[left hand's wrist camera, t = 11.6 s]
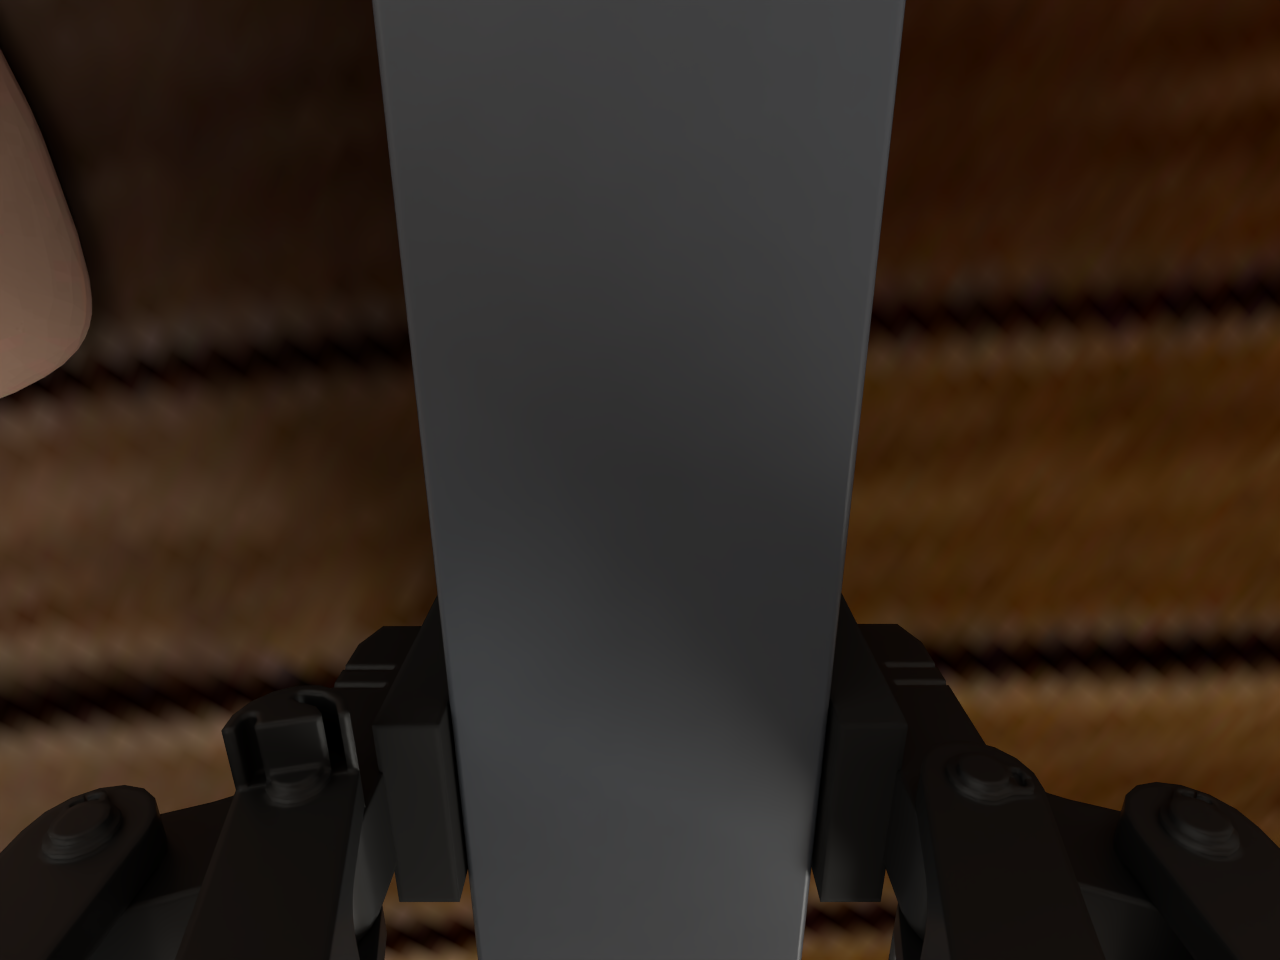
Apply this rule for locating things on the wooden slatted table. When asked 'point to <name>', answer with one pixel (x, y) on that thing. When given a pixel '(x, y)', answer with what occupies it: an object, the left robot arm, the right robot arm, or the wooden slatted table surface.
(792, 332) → the post
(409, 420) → the wooden slatted table surface
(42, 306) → the anatomical model
